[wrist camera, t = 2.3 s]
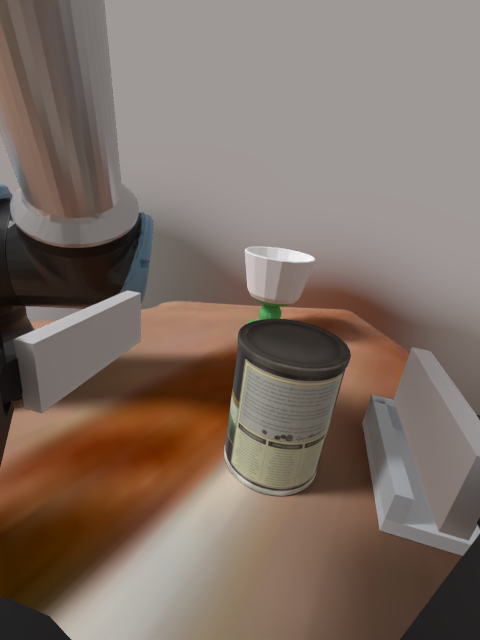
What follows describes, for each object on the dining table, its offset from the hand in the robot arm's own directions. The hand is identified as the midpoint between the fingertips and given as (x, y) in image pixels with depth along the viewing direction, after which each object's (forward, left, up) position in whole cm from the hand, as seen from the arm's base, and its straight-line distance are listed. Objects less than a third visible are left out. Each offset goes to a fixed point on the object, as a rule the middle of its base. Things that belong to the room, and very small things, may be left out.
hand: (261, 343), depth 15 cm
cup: (-44, +20, -20) cm, 52 cm away
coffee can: (-11, +8, -20) cm, 24 cm away
